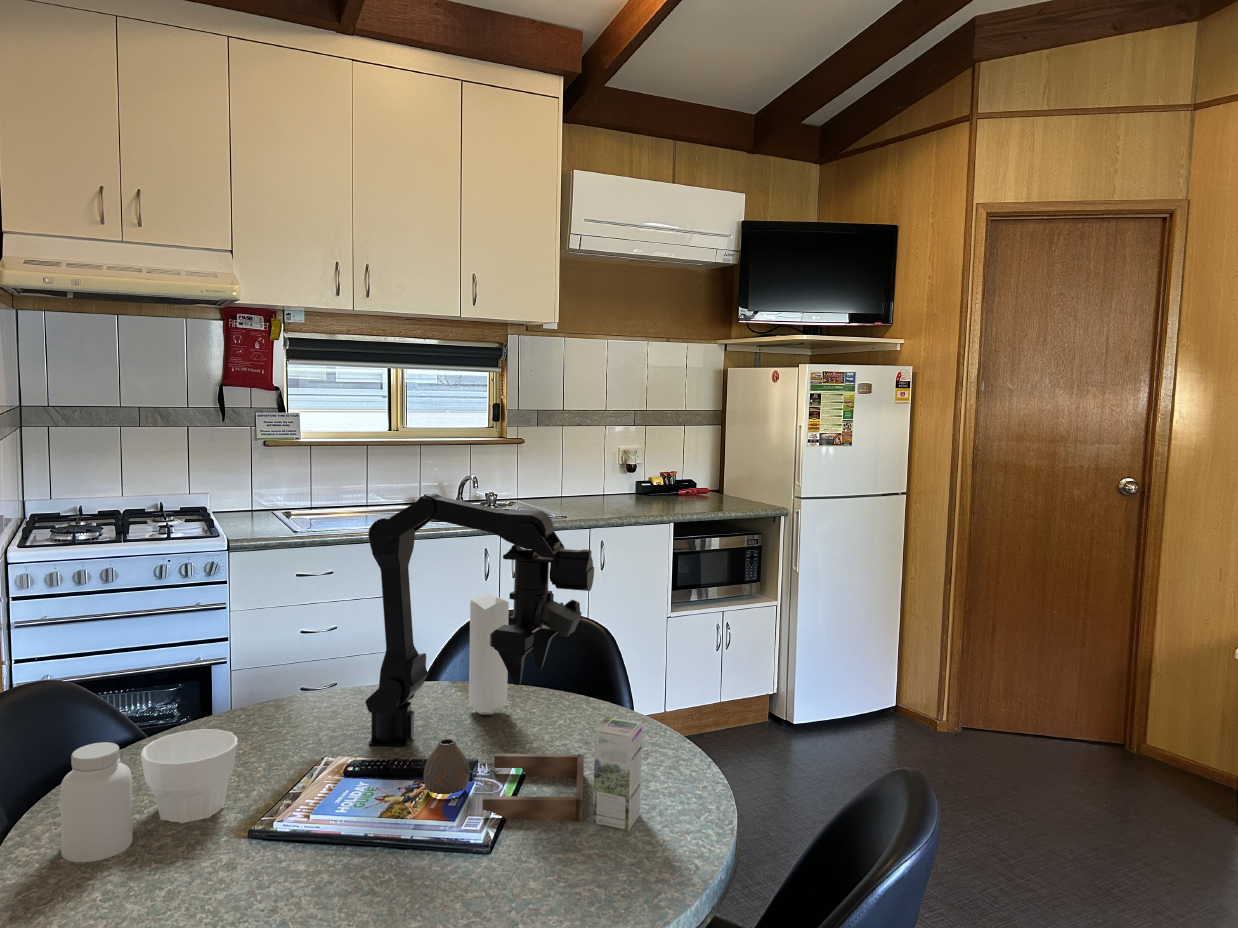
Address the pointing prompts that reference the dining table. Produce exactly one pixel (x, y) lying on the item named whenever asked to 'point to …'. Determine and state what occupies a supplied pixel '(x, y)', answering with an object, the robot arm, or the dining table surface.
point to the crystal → (487, 655)
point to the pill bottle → (96, 804)
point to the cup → (190, 772)
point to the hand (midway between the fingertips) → (528, 676)
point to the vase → (446, 769)
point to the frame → (540, 805)
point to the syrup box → (617, 773)
